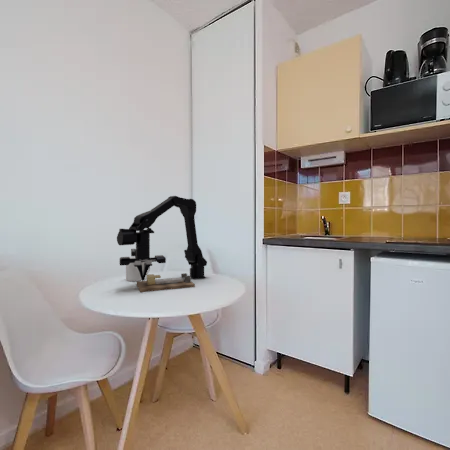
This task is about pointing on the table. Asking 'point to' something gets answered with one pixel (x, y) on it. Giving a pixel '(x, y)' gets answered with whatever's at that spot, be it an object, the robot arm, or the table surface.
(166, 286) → the base
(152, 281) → the gold t-shaped block
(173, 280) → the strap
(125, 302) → the table surface
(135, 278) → the mug
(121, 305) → the table surface
